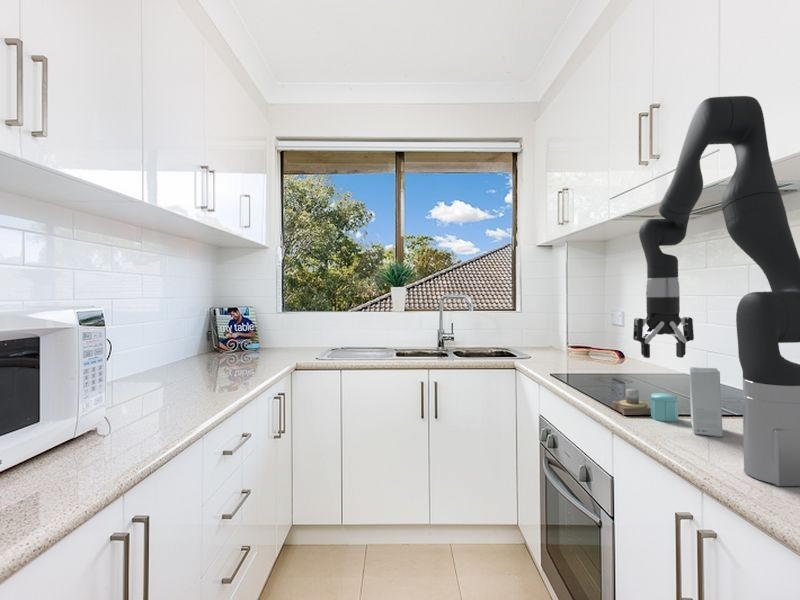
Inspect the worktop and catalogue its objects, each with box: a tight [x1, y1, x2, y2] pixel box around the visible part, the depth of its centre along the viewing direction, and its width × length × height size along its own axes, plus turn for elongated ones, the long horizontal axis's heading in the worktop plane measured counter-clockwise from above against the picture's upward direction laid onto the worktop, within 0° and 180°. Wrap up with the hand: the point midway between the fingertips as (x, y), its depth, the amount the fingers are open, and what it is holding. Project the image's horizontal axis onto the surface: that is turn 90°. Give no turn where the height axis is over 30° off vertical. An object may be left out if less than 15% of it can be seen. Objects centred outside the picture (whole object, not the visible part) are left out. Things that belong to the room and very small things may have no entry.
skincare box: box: [689, 367, 724, 438], centre depth 110 cm, size 8×6×15 cm
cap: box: [650, 392, 679, 423], centre depth 121 cm, size 6×6×6 cm
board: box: [611, 388, 651, 416], centre depth 128 cm, size 8×8×6 cm
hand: (663, 357), depth 121 cm, fingers open, 8 cm apart
